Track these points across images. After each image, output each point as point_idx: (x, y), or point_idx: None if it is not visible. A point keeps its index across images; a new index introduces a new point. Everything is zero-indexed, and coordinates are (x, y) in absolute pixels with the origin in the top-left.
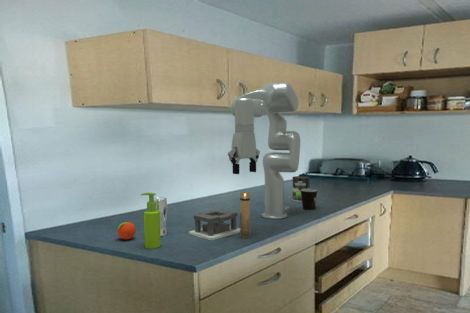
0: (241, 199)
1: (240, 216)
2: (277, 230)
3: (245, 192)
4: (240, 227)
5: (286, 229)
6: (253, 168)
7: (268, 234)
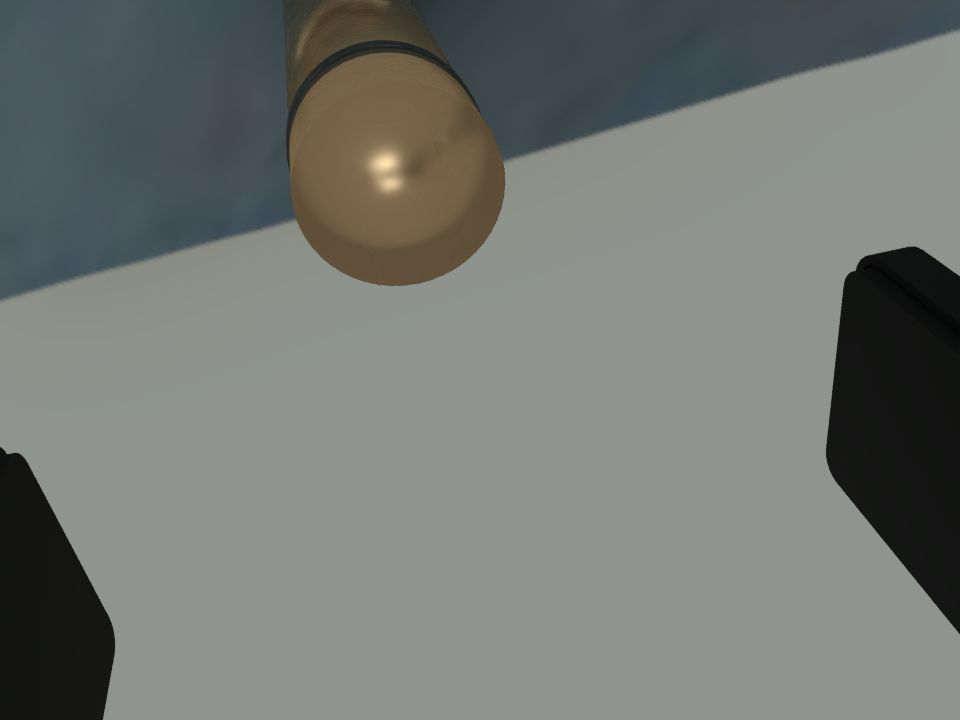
0: (289, 163)
1: (287, 39)
2: (779, 15)
3: (409, 194)
4: (285, 2)
5: (868, 44)
6: (892, 495)
7: (597, 80)
